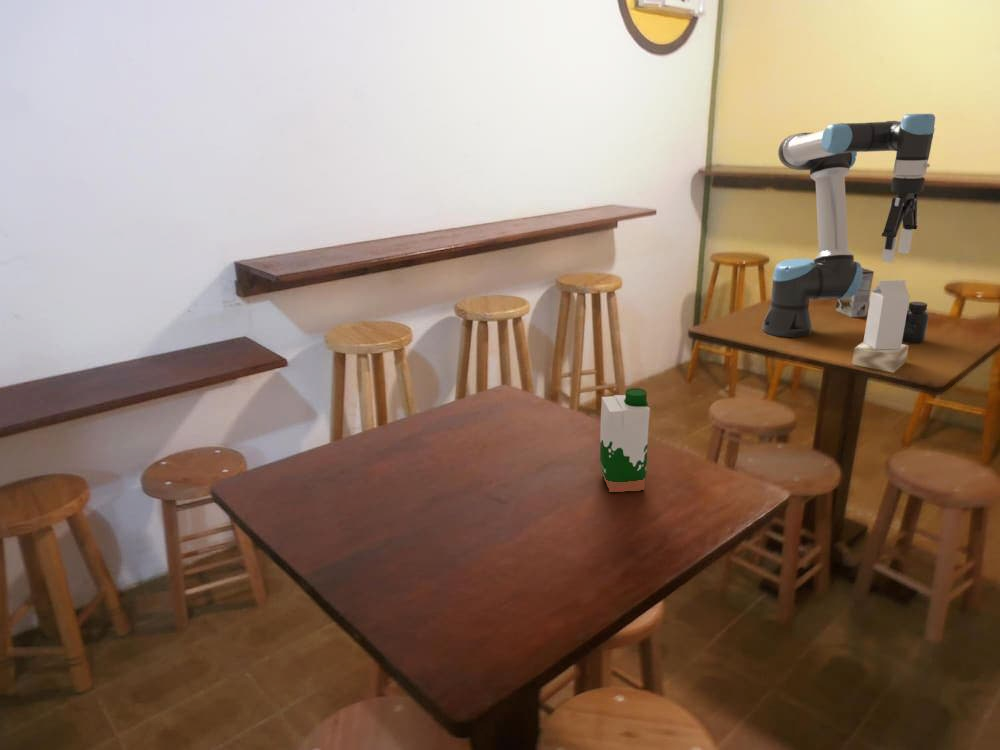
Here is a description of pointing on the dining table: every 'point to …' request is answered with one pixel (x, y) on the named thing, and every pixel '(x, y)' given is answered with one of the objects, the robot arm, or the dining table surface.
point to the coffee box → (857, 298)
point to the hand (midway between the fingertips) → (895, 257)
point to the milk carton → (887, 315)
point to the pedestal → (880, 357)
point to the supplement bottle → (916, 323)
